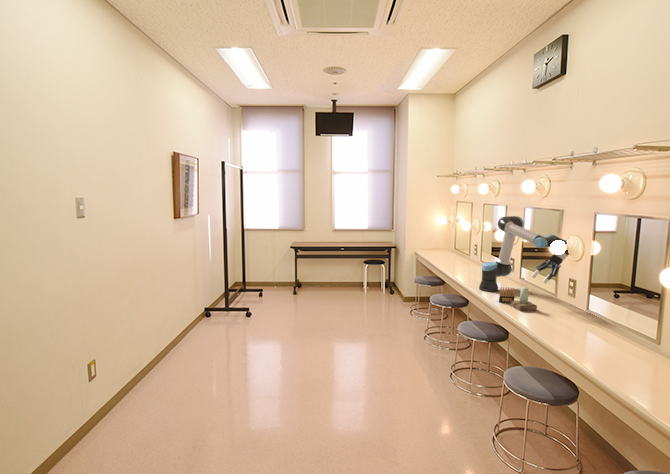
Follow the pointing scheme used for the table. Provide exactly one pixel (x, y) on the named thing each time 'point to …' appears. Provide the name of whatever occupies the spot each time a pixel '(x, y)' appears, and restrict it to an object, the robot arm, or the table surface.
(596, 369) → the table surface
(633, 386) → the table surface
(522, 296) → the sage cylinder
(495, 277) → the robot arm
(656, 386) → the table surface
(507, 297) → the ammunition clip
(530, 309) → the walnut plinth
